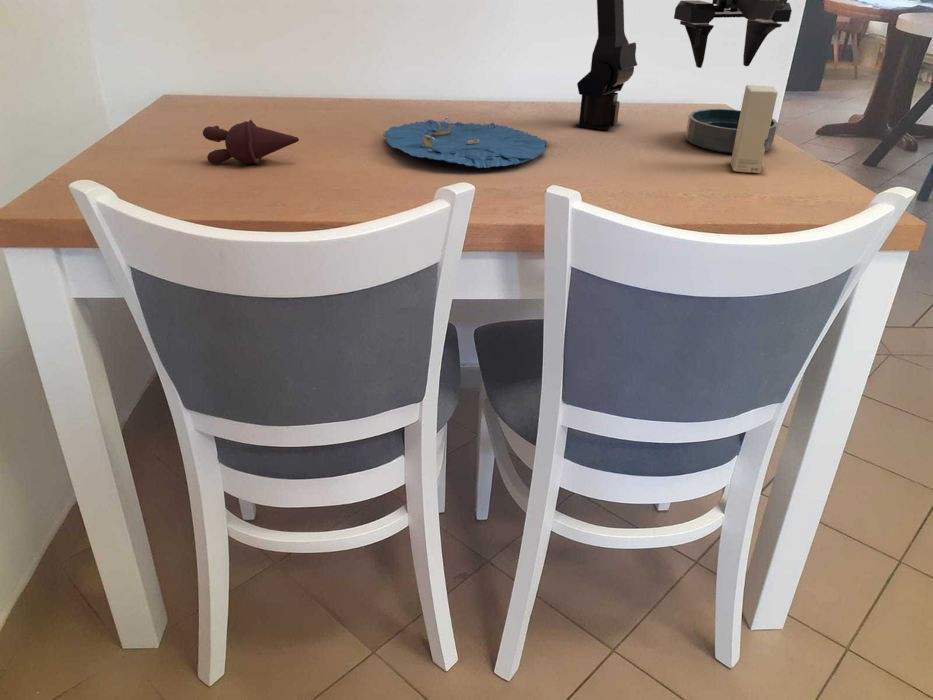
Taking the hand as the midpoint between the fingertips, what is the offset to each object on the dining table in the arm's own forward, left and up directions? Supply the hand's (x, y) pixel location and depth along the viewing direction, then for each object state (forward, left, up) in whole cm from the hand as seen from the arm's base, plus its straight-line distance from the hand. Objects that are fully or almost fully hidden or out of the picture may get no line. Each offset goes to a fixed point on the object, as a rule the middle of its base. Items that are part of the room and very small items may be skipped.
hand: (722, 66), depth 126 cm
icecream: (-63, -48, -14) cm, 80 cm away
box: (+8, -10, -14) cm, 19 cm away
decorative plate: (-38, -23, -14) cm, 47 cm away
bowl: (+3, +4, -14) cm, 15 cm away
